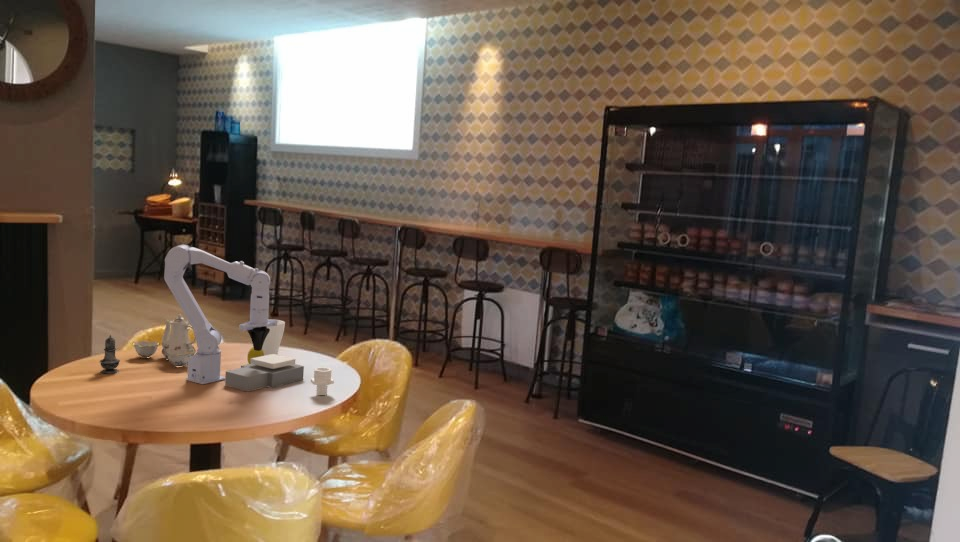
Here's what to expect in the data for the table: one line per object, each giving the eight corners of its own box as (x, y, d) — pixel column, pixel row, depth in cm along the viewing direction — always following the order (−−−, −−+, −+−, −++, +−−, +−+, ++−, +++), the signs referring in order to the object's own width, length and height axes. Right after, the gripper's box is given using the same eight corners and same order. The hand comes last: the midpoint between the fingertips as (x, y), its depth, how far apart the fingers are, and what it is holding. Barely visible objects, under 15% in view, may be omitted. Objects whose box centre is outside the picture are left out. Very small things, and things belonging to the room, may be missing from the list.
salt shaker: (123, 370, 229) (124, 334, 228) (112, 374, 223) (113, 337, 222) (106, 368, 230) (107, 332, 228) (95, 373, 224) (95, 335, 223)
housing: (252, 392, 216) (253, 378, 215) (220, 384, 222) (221, 370, 222) (303, 379, 235) (303, 366, 234) (272, 371, 241) (272, 358, 241)
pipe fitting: (337, 394, 221) (338, 369, 220) (320, 398, 215) (322, 373, 214) (322, 390, 224) (323, 365, 223) (305, 394, 218) (307, 369, 217)
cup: (247, 358, 256) (249, 322, 255) (264, 353, 266) (266, 318, 265) (272, 362, 253) (274, 325, 252) (288, 357, 263) (290, 321, 262)
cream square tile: (272, 368, 225) (273, 364, 225) (250, 363, 229) (250, 358, 229) (295, 363, 233) (295, 358, 233) (273, 358, 238) (273, 353, 238)
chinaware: (123, 362, 245) (119, 316, 242) (162, 349, 260) (159, 306, 256) (183, 376, 234) (180, 328, 230) (220, 362, 249) (218, 316, 245)
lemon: (260, 371, 241) (261, 348, 240) (244, 369, 241) (245, 346, 240) (265, 367, 247) (266, 344, 246) (250, 366, 247) (251, 343, 246)
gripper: (251, 312, 219) (249, 355, 221) (285, 308, 232) (283, 348, 233) (235, 309, 223) (233, 351, 224) (269, 305, 235) (267, 345, 237)
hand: (257, 350), depth 229 cm, fingers closed
